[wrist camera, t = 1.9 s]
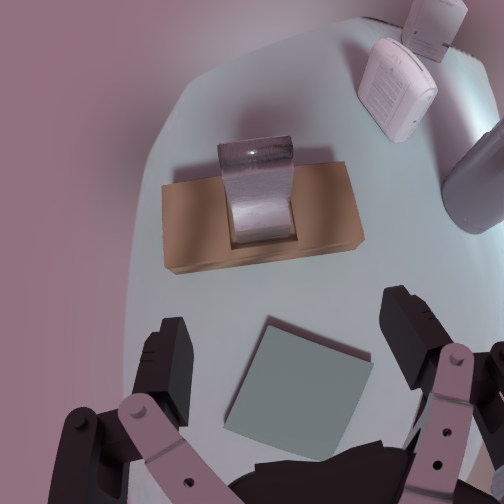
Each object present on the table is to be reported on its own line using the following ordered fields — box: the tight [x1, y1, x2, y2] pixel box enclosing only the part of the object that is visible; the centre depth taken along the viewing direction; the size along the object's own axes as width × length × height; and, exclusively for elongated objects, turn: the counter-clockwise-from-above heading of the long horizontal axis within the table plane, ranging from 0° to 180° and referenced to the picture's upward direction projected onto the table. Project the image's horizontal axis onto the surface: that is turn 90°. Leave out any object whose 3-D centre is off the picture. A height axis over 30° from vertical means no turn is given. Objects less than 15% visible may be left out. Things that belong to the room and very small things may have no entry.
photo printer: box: [358, 37, 438, 143], centre depth 32 cm, size 10×4×12 cm, turn 23°
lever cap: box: [217, 135, 294, 244], centre depth 26 cm, size 5×6×12 cm
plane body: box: [162, 161, 365, 274], centre depth 33 cm, size 20×9×4 cm, turn 97°
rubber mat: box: [223, 325, 374, 461], centre depth 29 cm, size 12×12×1 cm
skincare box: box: [401, 0, 468, 63], centre depth 36 cm, size 8×6×15 cm
